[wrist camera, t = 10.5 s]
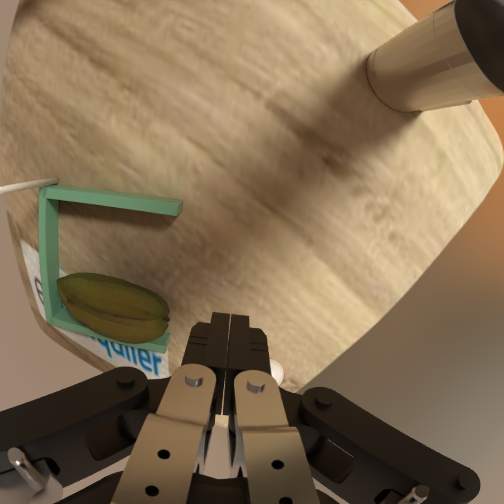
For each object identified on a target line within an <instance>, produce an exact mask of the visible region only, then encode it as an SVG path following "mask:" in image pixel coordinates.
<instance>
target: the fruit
mask: <svg viewBox="0 0 504 504" xmlns="http://www.w3.org/2000/svg"><path fill="white" fill-rule="evenodd" d="M56 284H57V288H58V293H59V296H60V298H61V300H62V302H63V304H64V306H65V307H66V309H67V310H68V312H69V313H70V314H71V315H72V316H73V317H74V318H75V319H76V320H77V321H78V322H80V323H81V324H82V325H84V326H85V327H87V328H89V329H90V330H92V331H93V332H95V333H97V334H99V335H102V336H104V337H107V338H111V339H114V340H117V341H120V342H124V343H128V344H142V343H147V342H151V341H154V340H156V339H158V338H160V337H161V336H163V334H164V332H165V331H166V329H167V327H168V323H167V322H169V321H170V318H169V317H168V314H169V308H168V305H167V303H166V302H165V301H164V300H163V299H162V298H161V297H160V296H158V295H157V294H155V293H153V292H152V291H150V290H147V289H145V288H143V287H141V286H138V285H135V284H131V283H129V282H127V281H124V280H121V279H118V278H114V277H110V276H105V275H100V274H94V273H75V274H71V275H67V276H65V277H62V278H59V279H57V281H56Z"/></svg>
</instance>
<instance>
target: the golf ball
mask: <svg viewBox="0 0 504 504" xmlns="http://www.w3.org/2000/svg"><path fill="white" fill-rule="evenodd" d="M270 366H271V374H272V377H273V378H274V379H275V380H276V381H277V384H278V386H279V385H280V383H281V382H282V380H283V376H284V373H283V369H282V366H281V365H280V364H279V363H278V362H277V361H275V360H273V359H270Z"/></svg>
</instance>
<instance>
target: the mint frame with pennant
mask: <svg viewBox="0 0 504 504" xmlns="http://www.w3.org/2000/svg"><path fill="white" fill-rule="evenodd" d="M58 182H59V178H58V177H55V178H48V179H41V180H35V181H29V182H23V183H18V184H12V185H7V186H2V187H0V195H3V194H8V193H12V192H16V191H21V190H26V189H31V188H35V187H40V190H39V257H40V271H41V282H42V291H43V299H44V307H45V313H46V319H47V323H49V324H52V325H55V326H58V327H61V328H64V329H68V330H71V331H74V332H78V333H81V334H84V335H88V336H92V337H95V338H99V339H103V340H107V341H110V342H114V343H118V344H123V345H127V346H131V347H136V348H140V349H145V350H149V351H154V352H159V353H164V354H165V352H166V349H167V346H168V343H169V337H170V333H166V332H164V334H163V336H161V337H160V338H158V339H156V340H154V341H151V342H147V343H142V344H128V343H124V342H120V341H117V340H114V339H111V338H107V337H104V336H102V335H99V334H97V333H95V332H93V331H92V330H90V329H89V328H87V327H85V326H84V325H82V324H81V323H80V322H78V321H77V320H76V319H75V318H74V317H73V316H72V315H71V314H70V313H69V312H68V310H67V309H64V308H62V301H61V298H60V296H59V293H58V288H57V284H56V281H57V279H59V262H58V206H59V200H65V201H73V202H81V203H88V204H96V205H103V206H111V207H118V208H125V209H132V210H139V211H146V212H152V213H159V214H166V215H172V216H177V215H178V214H179V213H180V212H181V211H182V204H183V201H181V200H174V199H167V198H160V197H153V196H145V195H138V194H130V193H122V192H114V191H106V190H98V189H89V188H80V187H70V186H60V185H51V184H57V183H58ZM46 185H49V186H46ZM41 186H44V187H41Z"/></svg>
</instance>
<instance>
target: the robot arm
mask: <svg viewBox="0 0 504 504" xmlns="http://www.w3.org/2000/svg"><path fill="white" fill-rule="evenodd" d="M367 76H368V80H369V82H370V85H371V87H372V89H373V90H374V92H375V94H376V95H377V96H378V97H379V99H380V100H381V101H383V102H384V103H385V104H386V105H387V106H389V107H391V108H392V109H395V110H397V111H401V112H412V111H417V110H421V111H423V112H424V111H430V110H435V109H440V108H446V107H452V106H458V105H465V104H470V103H471V101H472V100H477V99H484V98H491V97H498V96H504V0H453V1H451V2H449V3H448V4H446V5H444V6H443V7H441V8H439V9H438V10H436V11H434V12H432V13H431V14H429V15H428V16H426V17H424V18H423V19H421V20H419V21H418V22H416V23H415V24H413V25H411V26H410V27H408V28H407V29H405V30H404V31H402V32H401V33H399V34H398V35H396V36H395V37H393V38H392V39H390V40H389V41H387V42H386V43H384V44H383V45H382V46H380V47H379V48H377V49H376V50H375V51H374V52H372V53H371V55H370V57H369V58H368V62H367ZM229 321H230V314H227V313H218V312H213V313H212V318H211V323H203V322H198V323H197V324H196V325H195V326H193V327H192V329H191V332H190V336H189V339H188V343H187V346H186V350H185V353H184V357H183V360H182V364H181V366H180V367H178V368H177V369H176V370H175V371H174V372H173V374H172V376H170V377H168V378H163V379H149V380H147V377H146V375H145V374H144V373H143V372H142V371H141V370H139V369H136V368H133V367H118V368H115V369H112V370H110V371H107V372H105V373H103V374H100V375H98V376H95V377H93V378H90V379H88V380H85V381H83V382H80V383H78V384H75V385H73V386H70V387H68V388H65V389H62V390H60V391H57V392H54V393H52V394H49V395H46V396H44V397H41V398H38V399H36V400H33V401H30V402H27V403H24V404H21V405H18V406H15V407H13V408H10V409H7V410H4V411H1V412H0V504H339V503H338V502H337V501H335V500H334V499H333V498H331V497H330V496H328V495H327V494H325V493H323V492H322V491H320V490H317V489H316V488H315V484H314V481H313V478H315V479H316V480H317V481H318V482H320V483H321V484H323V485H324V486H325V487H327V488H328V489H329V490H331V491H332V492H334V493H335V494H336V495H338V496H339V497H341V498H342V499H344V500H345V501H347V502H348V503H350V504H468V503H469V502H470V501H471V500H473V499H474V498H475V497H476V496H477V495H478V493H479V491H480V479H479V477H478V475H477V474H476V473H475V472H474V471H473V470H471V469H470V468H468V467H466V466H464V465H462V464H460V463H458V462H456V461H454V460H452V459H450V458H448V457H446V456H444V455H442V454H440V453H438V452H436V451H435V450H433V449H431V448H429V447H427V446H425V445H423V444H422V443H420V442H418V441H416V440H414V439H413V438H411V437H409V436H407V435H405V434H404V433H402V432H400V431H399V430H397V429H395V428H394V427H392V426H390V425H388V424H387V423H385V422H383V421H382V420H380V419H378V418H377V417H375V416H374V415H372V414H370V413H369V412H367V411H365V410H364V409H362V408H361V407H359V406H357V405H356V404H354V403H353V402H351V401H349V400H348V399H346V398H345V397H343V396H342V395H340V394H339V393H337V392H336V391H333V390H332V389H328V388H325V387H314V388H311V389H308V390H307V391H305V393H304V394H303V395H300V394H296V393H292V392H289V391H286V390H284V389H282V388H280V387H279V386H278V384H277V381H276V380H275V379H274V378H273V377H272V374H271V366H270V358H269V352H268V345H267V344H268V343H267V336H266V335H265V333H264V332H263V331H262V330H261V329H259V328H249V316H246V315H236V314H231V323H230V331H229ZM228 333H229V340H228ZM227 346H228V350H227ZM226 360H227V361H226ZM225 372H226V375H225ZM224 381H225V390H224ZM223 390H224V405H223V415H229V423H228V430H227V437H228V452H229V466H230V478H229V479H215V478H212V477H209V476H205V475H204V470H205V465H206V460H207V455H208V450H209V445H210V440H211V435H212V427H213V426H214V424H215V415H216V414H218V415H221V409H222V400H223ZM328 439H329V440H330V441H332V442H333V443H334V444H336V445H337V446H339V447H340V448H342V449H343V450H344V451H343V450H342V449H340V448H339V447H337V446H336V445H334V444H333V443H332V442H330V441H329V440H328ZM345 451H346V452H347V453H349V454H350V455H352V456H353V457H354V458H353V457H352V456H350V455H349V454H347V453H346V452H345ZM129 455H130V457H129V459H128V462H127V464H126V467H125V469H124V471H120V472H116V473H113V474H111V475H108V476H106V477H104V478H102V479H101V480H99V481H97V482H95V483H93V484H91V485H90V486H88V487H86V488H84V489H82V490H80V491H78V492H76V493H74V494H72V495H70V496H68V497H66V498H64V499H62V500H61V498H62V495H63V488H64V487H66V486H69V485H71V484H73V483H75V482H77V481H80V480H82V479H84V478H86V477H88V476H90V475H92V474H94V473H96V472H98V471H100V470H102V469H104V468H106V467H108V466H110V465H112V464H114V463H116V462H118V461H119V460H121V459H123V458H125V457H127V456H129ZM312 477H313V478H312Z"/></svg>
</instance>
